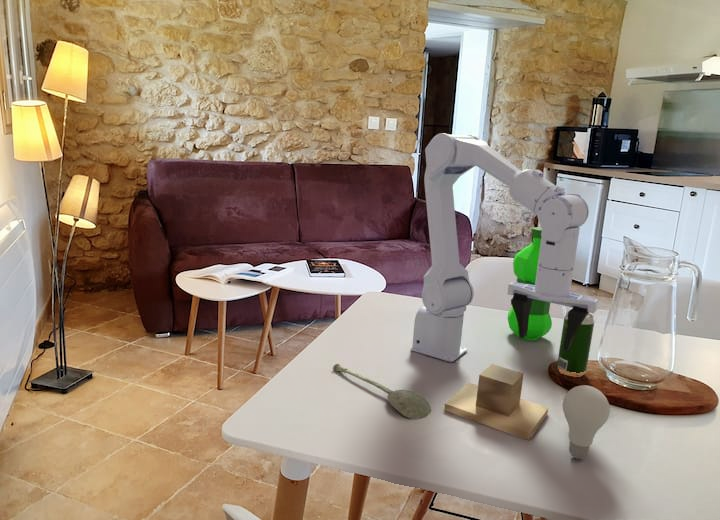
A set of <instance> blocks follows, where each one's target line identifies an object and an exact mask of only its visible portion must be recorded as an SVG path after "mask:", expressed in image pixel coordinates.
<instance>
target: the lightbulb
mask: <svg viewBox="0 0 720 520" xmlns="http://www.w3.org/2000/svg"><path fill="white" fill-rule="evenodd" d="M610 408H611V407H610V403H609V401H608V398H607V397H606V395H605V394H604V393H603V392H602V391H600V390H599V389H598V388H595V387H594V386H591V385H584V384H583V385H577V386H574V387H573V388H570V390H568V391H567V392H566V394H565V395H564V397H563V400H562V411H563V414H564V417H565V419H566V422H567V425H568V439H569V444H568V452H569V454H570V455H571V456H572V457H573V458H575V459H577V460H581V459H586V458H587V457H588V454H589V451H590V447H591V446H592V444H593V442H594V438H595V435H596V434H597V433H598V431H599V430H600V429H601V428H602V427H603V426H604V425H605V424H606V423H607V421H608V419H609V417H610V413H611V410H610Z"/></svg>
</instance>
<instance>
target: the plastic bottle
mask: <svg viewBox="0 0 720 520" xmlns="http://www.w3.org/2000/svg"><path fill="white" fill-rule="evenodd" d="M541 232H542V227H541V226H540V227H536V226H535V227H531V232H530V233H531V234H530V236H531V238H532V243H530V244H529V245H527V246H525V247H523V248H522V249H521V250H520V251H518V252H517V253H515V256H514V257H513V262H512V268H513V269H512V270H513V273H514V275H515V277H516V281H515V282H516V283H522V284H530V285H535V281H536V274H537V267H538V260H539V252H540V245H541V238H542V236H541ZM550 307H551V303H550V302H545V301H541V300H536V299H533V301H532V305H531V309H530V314H529V321H528V331H527V335H526V336H525V337H524V338H520V339H521V340H522V339H523V340H525V341H537V340H539V339H540V338H542V337H543V336H545V335H547V334H548V333H549V332H550V331H551V329H552V327H553V326H552V325H553V322H552V317H551V314H550V309H551V308H550ZM507 322H508V327H509V328H510V330H511V331H512V332H513V334H515V335H516V337H518V338H519V328H518V322H517V318H516V315H515V312H514V309H513V307H512V306H511V308H510V309H509V311H508V313H507Z"/></svg>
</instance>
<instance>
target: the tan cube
mask: <svg viewBox="0 0 720 520" xmlns="http://www.w3.org/2000/svg"><path fill="white" fill-rule="evenodd" d="M524 376H525V375H524V372H521V371H517V370H514V369H511V368H508V367H504V366H501V365H497V364H494V363H491V364H490V365H489V366H488V367H486V368H485V369H484V370H483V371H482V372H480V373H479V375H478V383H477V385H478V390H477V399H476V406H478V407H481V408H484V409H487V410H490V411H493V412H496V413H498V414H501V415H504V416H507V417H509V416H510V414H511V413H512V412H513V411H514V410H515V409H516V407H517V406H518V405H519V404H520V399H521V395H522V387H523V383H524V381H523V380H524Z"/></svg>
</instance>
